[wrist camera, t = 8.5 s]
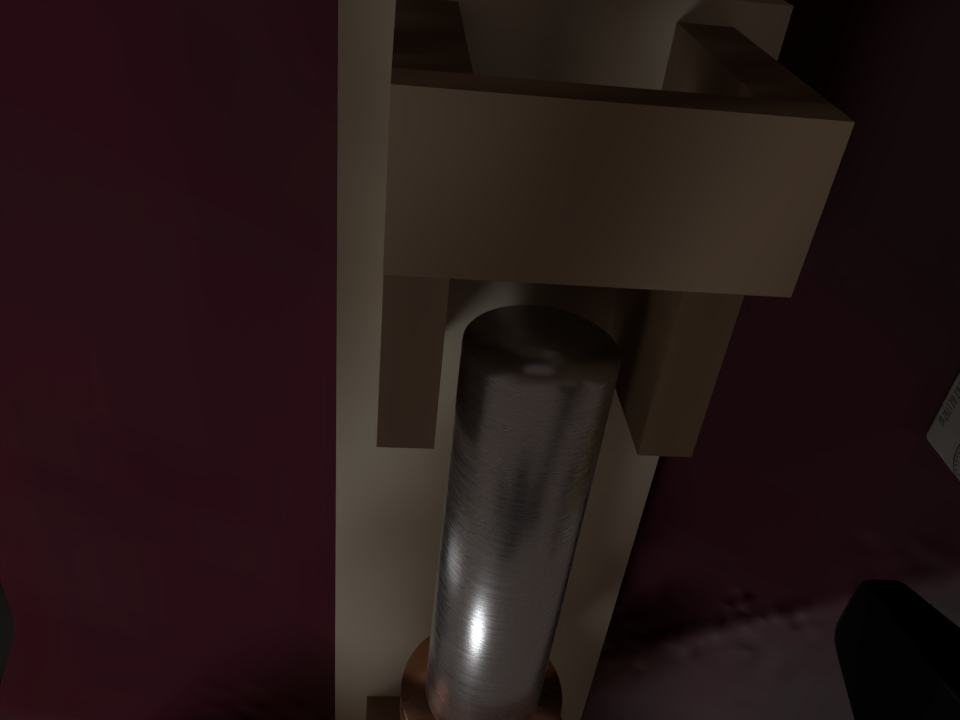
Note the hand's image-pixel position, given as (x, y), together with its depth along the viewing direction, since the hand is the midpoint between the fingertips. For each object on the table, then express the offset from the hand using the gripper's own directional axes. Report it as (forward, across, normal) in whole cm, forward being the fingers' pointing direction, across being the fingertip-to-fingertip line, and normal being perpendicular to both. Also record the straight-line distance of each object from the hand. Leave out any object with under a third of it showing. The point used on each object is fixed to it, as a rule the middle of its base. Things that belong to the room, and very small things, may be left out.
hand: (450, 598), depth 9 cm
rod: (+11, -2, +12) cm, 17 cm away
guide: (+12, -2, +10) cm, 16 cm away
